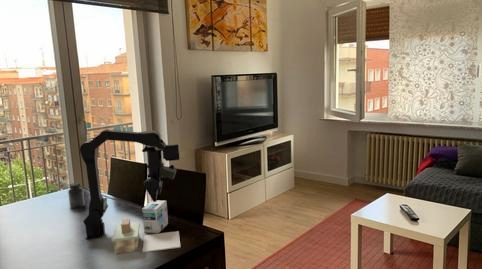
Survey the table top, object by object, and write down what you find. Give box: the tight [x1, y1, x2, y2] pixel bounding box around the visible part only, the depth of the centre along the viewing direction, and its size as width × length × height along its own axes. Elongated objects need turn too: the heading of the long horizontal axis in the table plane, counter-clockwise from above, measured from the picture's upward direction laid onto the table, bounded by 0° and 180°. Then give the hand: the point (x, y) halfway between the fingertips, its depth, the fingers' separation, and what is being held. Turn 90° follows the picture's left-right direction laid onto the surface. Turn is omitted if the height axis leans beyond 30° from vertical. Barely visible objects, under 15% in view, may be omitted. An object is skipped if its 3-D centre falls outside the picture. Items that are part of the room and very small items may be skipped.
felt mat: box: [142, 230, 182, 253], centre depth 145 cm, size 14×14×1 cm
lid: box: [111, 218, 141, 243], centre depth 142 cm, size 9×13×6 cm
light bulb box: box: [141, 199, 169, 234], centre depth 157 cm, size 11×7×11 cm, turn 168°
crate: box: [113, 233, 140, 254], centre depth 143 cm, size 8×12×5 cm, turn 12°
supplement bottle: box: [67, 182, 85, 210], centre depth 186 cm, size 7×7×12 cm
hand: (157, 197), depth 154 cm, fingers open, 9 cm apart
